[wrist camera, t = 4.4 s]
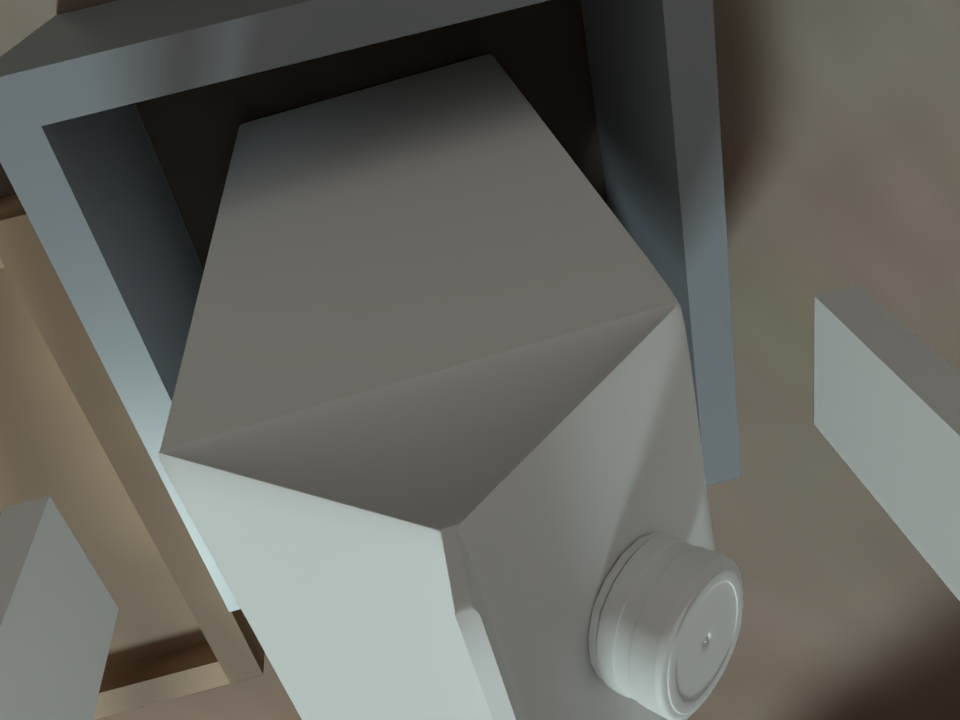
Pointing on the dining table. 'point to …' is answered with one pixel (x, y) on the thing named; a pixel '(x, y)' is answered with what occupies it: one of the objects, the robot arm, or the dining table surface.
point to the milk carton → (447, 421)
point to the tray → (105, 491)
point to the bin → (304, 36)
